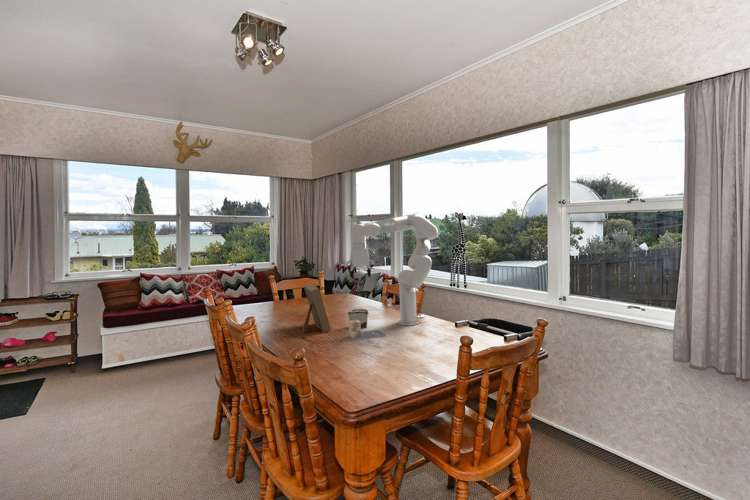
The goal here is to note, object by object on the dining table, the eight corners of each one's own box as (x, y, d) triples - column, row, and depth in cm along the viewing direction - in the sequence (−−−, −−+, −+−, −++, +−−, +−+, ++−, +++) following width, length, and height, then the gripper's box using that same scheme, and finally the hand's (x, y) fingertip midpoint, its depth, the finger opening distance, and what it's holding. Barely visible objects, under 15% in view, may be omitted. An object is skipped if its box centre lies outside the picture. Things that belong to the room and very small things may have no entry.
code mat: (378, 329, 214) (378, 329, 214) (388, 336, 201) (388, 336, 201) (344, 334, 208) (344, 333, 208) (351, 341, 195) (351, 341, 195)
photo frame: (321, 322, 234) (319, 282, 232) (331, 331, 214) (328, 287, 212) (297, 326, 229) (295, 284, 227) (304, 335, 208) (302, 290, 207)
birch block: (358, 334, 206) (357, 319, 205) (361, 337, 201) (360, 322, 200) (349, 335, 204) (348, 320, 204) (351, 338, 199) (351, 323, 199)
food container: (370, 325, 225) (369, 308, 224) (369, 328, 218) (368, 310, 218) (349, 325, 226) (348, 308, 225) (347, 328, 220) (347, 311, 219)
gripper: (371, 245, 216) (373, 275, 218) (342, 246, 211) (343, 277, 212) (376, 245, 209) (377, 276, 211) (345, 247, 204) (347, 279, 205)
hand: (360, 277), depth 211 cm, fingers open, 9 cm apart
